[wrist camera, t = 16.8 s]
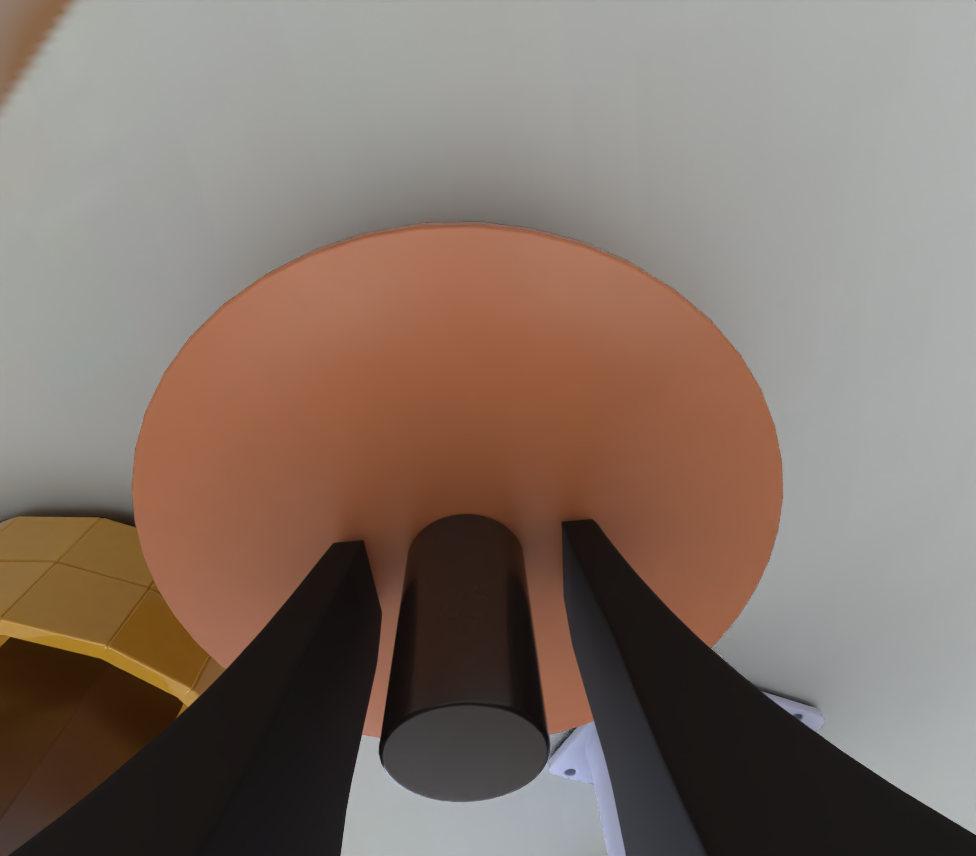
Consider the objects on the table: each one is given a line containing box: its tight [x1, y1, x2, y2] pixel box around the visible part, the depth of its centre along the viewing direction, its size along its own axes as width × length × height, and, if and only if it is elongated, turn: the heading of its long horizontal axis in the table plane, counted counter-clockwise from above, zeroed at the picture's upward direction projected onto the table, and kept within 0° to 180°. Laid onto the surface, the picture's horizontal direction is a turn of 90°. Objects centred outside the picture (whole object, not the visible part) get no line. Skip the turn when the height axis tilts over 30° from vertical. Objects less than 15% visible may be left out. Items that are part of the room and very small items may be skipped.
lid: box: [132, 222, 783, 802], centre depth 9 cm, size 13×13×5 cm
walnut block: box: [0, 637, 183, 856], centre depth 16 cm, size 4×4×7 cm
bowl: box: [0, 516, 226, 717], centre depth 17 cm, size 12×12×4 cm
